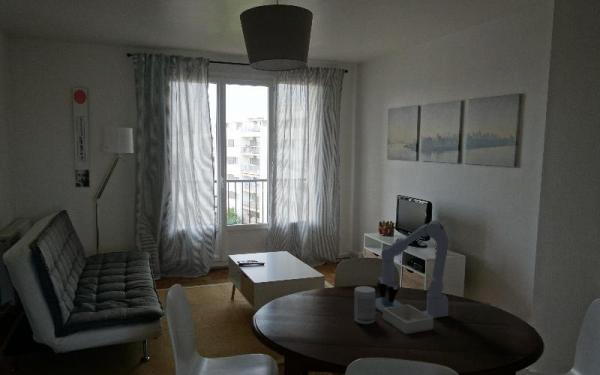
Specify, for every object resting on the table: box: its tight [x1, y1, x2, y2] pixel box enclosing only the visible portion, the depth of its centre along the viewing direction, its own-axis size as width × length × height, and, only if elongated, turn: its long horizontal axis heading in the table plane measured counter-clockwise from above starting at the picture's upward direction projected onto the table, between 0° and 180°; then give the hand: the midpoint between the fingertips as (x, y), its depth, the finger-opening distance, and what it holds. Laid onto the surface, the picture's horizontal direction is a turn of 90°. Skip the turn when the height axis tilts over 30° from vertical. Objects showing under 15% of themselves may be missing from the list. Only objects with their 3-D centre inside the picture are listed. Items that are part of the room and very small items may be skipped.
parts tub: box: [382, 304, 434, 335], centre depth 201 cm, size 14×18×5 cm
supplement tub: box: [353, 285, 377, 325], centre depth 204 cm, size 10×10×15 cm
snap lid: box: [375, 295, 404, 314], centre depth 222 cm, size 14×18×6 cm
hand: (387, 299), depth 222 cm, fingers open, 7 cm apart
